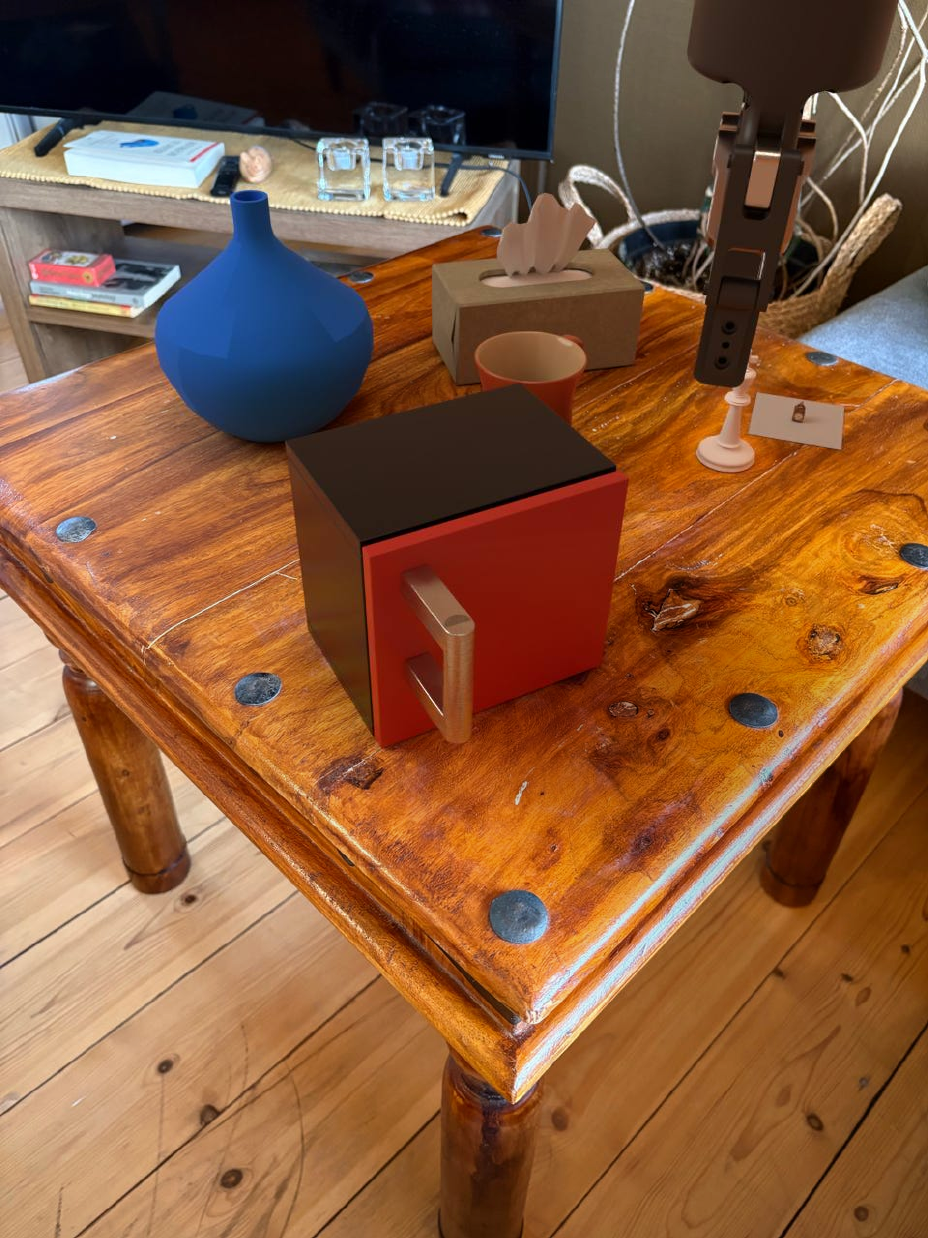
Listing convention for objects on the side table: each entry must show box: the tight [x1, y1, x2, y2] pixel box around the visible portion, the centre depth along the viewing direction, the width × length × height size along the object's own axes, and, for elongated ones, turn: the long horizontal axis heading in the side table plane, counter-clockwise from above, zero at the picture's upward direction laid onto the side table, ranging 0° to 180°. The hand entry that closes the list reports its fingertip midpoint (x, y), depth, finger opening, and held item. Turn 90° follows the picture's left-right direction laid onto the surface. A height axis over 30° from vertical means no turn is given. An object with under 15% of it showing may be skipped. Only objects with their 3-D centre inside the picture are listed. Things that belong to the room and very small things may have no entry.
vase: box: [154, 189, 375, 443], centre depth 83 cm, size 18×18×19 cm
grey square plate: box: [747, 391, 845, 451], centre depth 90 cm, size 8×8×2 cm
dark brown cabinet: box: [284, 383, 618, 737], centre depth 62 cm, size 11×16×15 cm
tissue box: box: [431, 192, 646, 386], centre depth 94 cm, size 19×10×16 cm, turn 105°
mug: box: [474, 331, 587, 427], centre depth 81 cm, size 12×9×10 cm
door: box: [362, 470, 630, 749], centre depth 56 cm, size 7×16×15 cm, turn 118°
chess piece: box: [695, 348, 759, 473], centre depth 82 cm, size 5×5×10 cm
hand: (723, 340), depth 47 cm, fingers open, 8 cm apart
